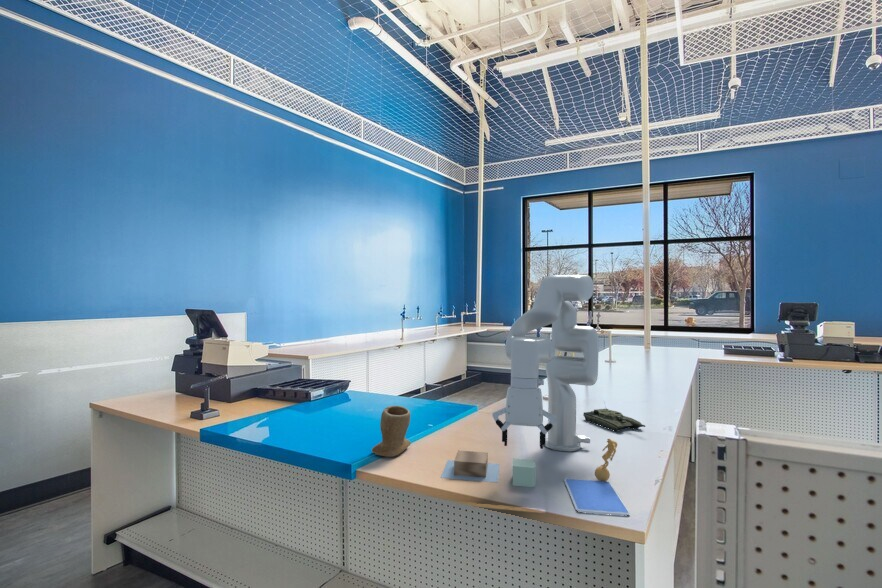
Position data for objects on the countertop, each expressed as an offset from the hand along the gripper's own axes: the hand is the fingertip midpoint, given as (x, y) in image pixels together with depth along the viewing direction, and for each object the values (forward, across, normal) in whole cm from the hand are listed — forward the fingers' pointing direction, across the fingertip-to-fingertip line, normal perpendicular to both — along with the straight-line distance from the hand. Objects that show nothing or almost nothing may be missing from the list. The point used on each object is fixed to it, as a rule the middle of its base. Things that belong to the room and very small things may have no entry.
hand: (523, 445), depth 119 cm
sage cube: (+11, 0, -1) cm, 11 cm away
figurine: (+10, -23, -8) cm, 27 cm away
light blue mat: (+11, +15, -6) cm, 19 cm away
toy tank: (+9, -40, -66) cm, 78 cm away
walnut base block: (+10, +15, -6) cm, 19 cm away
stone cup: (+11, +42, -19) cm, 47 cm away
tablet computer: (+11, -18, +3) cm, 22 cm away
